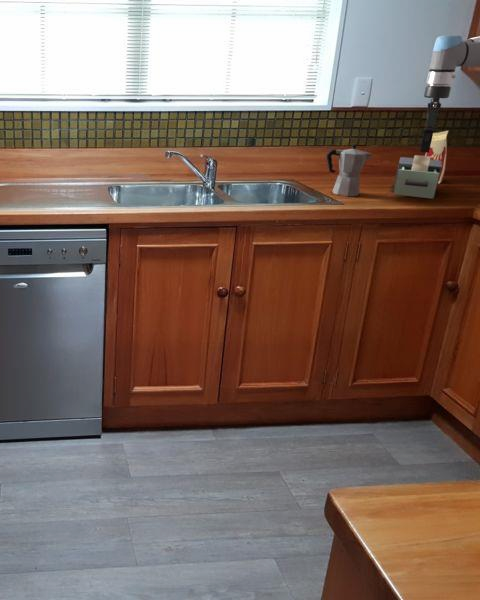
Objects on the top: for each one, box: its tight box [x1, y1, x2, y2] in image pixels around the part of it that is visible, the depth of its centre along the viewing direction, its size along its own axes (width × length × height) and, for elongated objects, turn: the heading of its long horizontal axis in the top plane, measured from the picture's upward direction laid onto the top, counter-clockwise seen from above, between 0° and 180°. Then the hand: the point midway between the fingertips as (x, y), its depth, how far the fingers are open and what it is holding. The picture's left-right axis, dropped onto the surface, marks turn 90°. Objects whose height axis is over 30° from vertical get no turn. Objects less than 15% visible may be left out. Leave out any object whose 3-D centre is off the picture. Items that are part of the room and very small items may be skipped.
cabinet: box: [392, 156, 442, 198], centre depth 227 cm, size 16×14×11 cm
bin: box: [393, 166, 439, 200], centre depth 217 cm, size 21×13×9 cm, turn 152°
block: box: [411, 154, 430, 172], centre depth 216 cm, size 5×5×6 cm
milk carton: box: [424, 130, 449, 184], centre depth 243 cm, size 9×9×20 cm
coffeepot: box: [325, 143, 374, 197], centre depth 219 cm, size 15×9×18 cm, turn 76°
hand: (424, 149), depth 213 cm, fingers open, 13 cm apart
